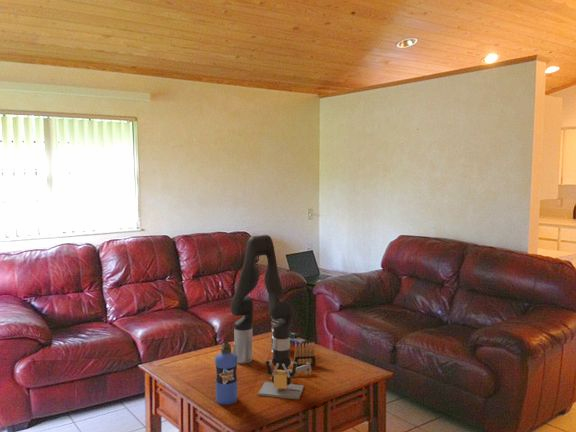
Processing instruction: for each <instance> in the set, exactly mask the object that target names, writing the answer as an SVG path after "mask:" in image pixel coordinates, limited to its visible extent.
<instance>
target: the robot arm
mask: <svg viewBox="0 0 576 432" xmlns="http://www.w3.org/2000/svg"><path fill="white" fill-rule="evenodd" d="M261 256H266V259H267V267H266V271H265V275H264V286H265V290H266V292H267V294H268V295H267V296H268V311H269V316H270V318H271V317H272V318H273V319H275V320H277V319H281V321H280V322H278V323H276V324H275V325H274V328H273V336H274V337H273V352H272V359H268V358H267V360H266V361H265V365H266V370H267V374H268V375H271V377H272V379H271V382H272V383H273V384H274V373H276V371H277V370H285V373H286V374H287V385H289V384H292V383H291V382H292V378H291V377H295V375H296V373H295V371H296V368H297V367H296V366H297V362H294V361H292V360H291V340H290V327H291V323H292V320H293V317H294V307H293V304H292V303H291V302H290V301H287V300H285V301H280V302H278V299H280V298H282V297H283V296H284V294H285V291H284V288H283V285H282V281H281V278H280V275H279V270H278V264H277V257H276V251H275V247H274V241H273V239H272V237H271V236H270V235H268V234H263V235H255V236H251V237H249V238H248V240H247V243H246V249H245V255H244V260H243V265H242V269H241V271H240V274H239V278H238V282H237V287H236V289H235V292H234V294H233V297H232V299H231V302H230V313H231V314H232V315H233V316H235V317H240V316H242V317H240V318H239V319H237V320H236V321H234V324H233V325H234V326H233V333H234V336H233V337H234V339H233V340H234V342H233V343H232V353H233V354H236V355H237V364H244V365H245V364H249V363H251V362H252V361H253V323H254V301H253V298H252V297H251V296H248V295H249V294H251V292H253V291H254V290H255V288H256V287H257V285H258V284H259V280H260V276H261V272H260V270H259V267H258V266H257V264H256V258H257V257H261ZM273 319H272V320H273ZM272 364H273V367H274V368H273V370H272ZM290 365H291V367H292V369H290ZM290 370H292V373H291V372H290Z"/></svg>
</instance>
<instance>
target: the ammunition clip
mask: <svg viewBox="0 0 576 432" xmlns="http://www.w3.org/2000/svg"><path fill="white" fill-rule="evenodd" d="M315 348H316V347H315V342H314V341H313V342H312V343H311V342H309V344H308V342H302V344H301V343H300V342H298V344H297V342H295V344H294V352H293V353H294V356H293V357H294V360H293V362H297V366H296V368H297V367H300V366H303V365H306V363H308V362H309V364H310V365H311V367H315V366H316V349H315Z"/></svg>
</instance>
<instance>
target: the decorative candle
mask: <svg viewBox="0 0 576 432" xmlns="http://www.w3.org/2000/svg"><path fill="white" fill-rule="evenodd" d="M270 321H271V323H270V328H271V332H272V335H271V341H270V342H271V345H270V346H271V353H273V337H274V336H273V328H274V325H275V324H276V323H278V322H280V321H281V319H277V320H275V319H273V318H272V317H271V316H270Z"/></svg>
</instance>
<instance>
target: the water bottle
mask: <svg viewBox="0 0 576 432" xmlns="http://www.w3.org/2000/svg"><path fill="white" fill-rule="evenodd" d="M231 346H232V345H231V344H230V343H229V342H227V341H226V342H223V344H222V345H221V348H220V349H221V350H220V352H221V353H218V354H217V355H215V356H214V357H215V359H214V362H215V363H214V364H215V371H216V377H215V378H216V379H215V401H216V403H217V404H218V405H221V406H229V405H233V404H235V403H237V401H238V376H237V370H238V369H237V368H238V363H237V355H236V354H233V352H232V347H231Z"/></svg>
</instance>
